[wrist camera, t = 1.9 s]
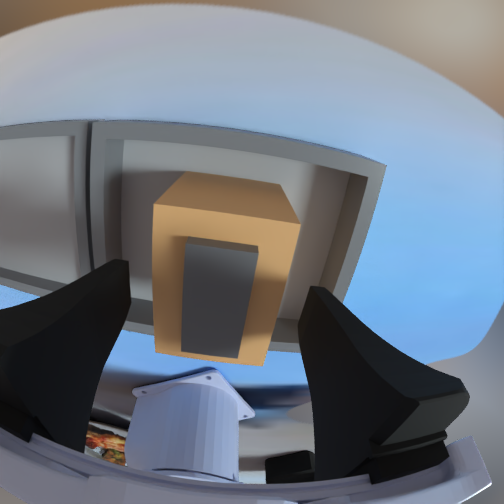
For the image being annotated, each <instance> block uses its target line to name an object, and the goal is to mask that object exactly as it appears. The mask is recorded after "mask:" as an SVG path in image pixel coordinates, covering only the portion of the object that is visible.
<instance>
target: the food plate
mask: <svg viewBox="0 0 504 504" xmlns="http://www.w3.org/2000/svg"><path fill="white" fill-rule="evenodd" d="M128 430H129V429H123V428H120V427H116V426H114V425H110V424H106V423H102V422H95V421H91V420H89V424H88V430H87V436H86V444H85V453H84V454H86V455H89V456H92V457H95V458H98V459H101V460H104V461H108V462H111V463H114V464H118V465H122V466H125V463H126V459H125V452H124V447H125V441H126V437H127V434H128ZM96 447H99V448H101V451H102V450H105V452H104V454H102V455H100V454H99V453H97V452H95V451H93V449H95V448H96ZM125 467H128V466H125Z"/></svg>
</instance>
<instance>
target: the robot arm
mask: <svg viewBox="0 0 504 504" xmlns="http://www.w3.org/2000/svg"><path fill="white" fill-rule="evenodd" d="M131 303H132V302H131V289H130V273H129V261H127V260H120V259H113V260H111V261H109V262H107V263H105V264H103V265H102V266H100V267H98V268H96V269H95V270H93V271H91V272H89V273H88V274H86V275H84V276H82V277H81V278H79V279H77V280H75V281H73V282H71V283H69V284H68V285H66V286H64V287H62V288H60V289H58V290H56V291H54V292H52V293H49V294H47V295H45V296H42V297H40V298H37V299H35V300H32V301H29V302H26V303H23V304H20V305H17V306H13V307H9V308H5V309H1V310H0V487H2V488H3V489H5V490H6V491H8V492H9V493H11V494H12V495H14V496H16V497H17V498H20V499H21V500H23V501H25V502H26V503H28V504H460V503H462V502H464V501H465V500H467V499H469V498H471V497H472V496H474V495H476V494H477V493H479V492H481V491H482V490H484V489H485V488H487V487H488V486H490V485H491V483H492V482H491V479H490V476H489V474H488V471H487V469H486V466H485V464H484V461H483V459H482V457H481V454H480V452H479V450H478V448H477V446H476V443H475V442H474V439H473V437H472V436H468V437H465V438H463V439H460V440H458V441H455V442H453V443H451V444H449V445H448V446H445V444H444V441H443V440H445V439H446V438H447V434H446V431H445V429H446V428H447V427H448V426H449V425H450V424H451V423H452V422H453V421H454V420H455V419H456V418H457V417H458V416H459V415H460V414H461V413H462V411H463V410H464V409H465V408H466V406H467V404H468V402H469V398H470V396H469V393H468V391H467V390H466V388H465V386H464V384H463V383H462V381H461V380H460V379H459V378H456V377H453V376H450V375H448V374H445V373H442V372H440V371H437V370H435V369H433V368H431V367H429V366H427V365H424V364H422V363H420V362H418V361H417V360H415V359H413V358H411V357H409V356H408V355H406V354H404V353H403V352H401V351H399V350H398V349H396V348H395V347H393V346H392V345H390V344H389V343H388V342H386V341H385V340H383V339H382V338H381V337H379V336H378V335H377V334H376V333H374V332H373V331H372V330H371V329H370V328H368V327H367V326H366V325H365V324H364V323H363V322H361V321H360V320H359V319H358V318H357V317H356V316H355V315H354V314H353V313H352V312H351V311H350V310H349V309H348V308H346V307H345V306H344V305H343V304H342V303H341V302H340V301H339V300H338V299H337V298H336V297H335V296H334V295H333V294H332V293H331V292H330V291H329V290H327V289H326V288H325V287H319V286H310V288H309V291H308V294H307V297H306V301H305V304H304V307H303V310H302V313H301V316H300V319H299V322H298V338H299V347H300V351H301V355H302V360H303V364H304V368H305V372H306V377H307V381H308V385H309V389H310V395H311V401H312V410H313V423H314V439H315V475H314V482H304V483H288V484H244V483H243V482H239V468H238V420H243V419H247V418H251V417H254V416H255V411H254V410H253V409H252V408H251V407H250V406H249V405H248V404H247V403H246V402H245V401H244V400H243V398H242V397H241V396H240V395H239V394H238V393H237V392H236V391H235V389H234V388H233V387H232V386H231V385H230V384H229V383H228V381H227V380H226V379H225V378H224V377H223V376H222V374H221V373H220V372H219V371H217V370H209V371H205V372H201V373H198V374H194V375H190V376H186V377H182V378H178V379H174V380H170V381H165V382H161V383H157V384H152V385H148V386H143V387H138V388H134V389H133V390H132V393H133V395H134V396H136V397H137V401H136V404H135V408H134V411H133V415H132V418H131V422H130V426H129V430H128V434H127V437H126V441H125V447H124V452H125V459H126V463H127V466H128V467H125V466H122V465H118V464H114V463H111V462H108V461H104V460H101V459H98V458H95V457H92V456H89V455H86V454H84V453H85V444H86V436H87V430H88V424H89V419H90V414H91V409H92V405H93V401H94V397H95V393H96V390H97V386H98V383H99V380H100V376H101V373H102V370H103V368H104V365H105V363H106V361H107V359H108V357H109V355H110V352H111V350H112V348H113V346H114V344H115V342H116V340H117V338H118V336H119V334H120V332H121V330H122V328H123V326H124V323H125V321H126V318H127V315H128V312H129V309H130V306H131Z"/></svg>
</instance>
